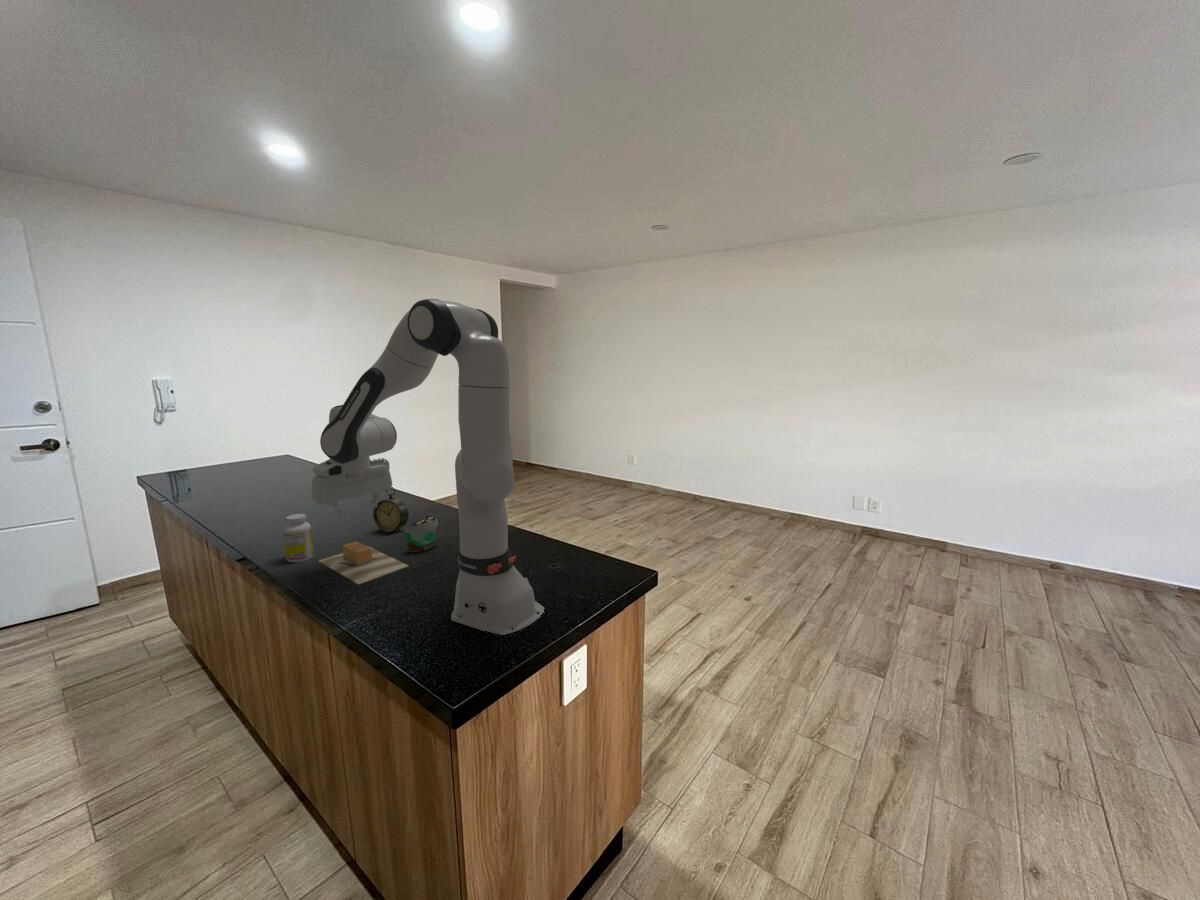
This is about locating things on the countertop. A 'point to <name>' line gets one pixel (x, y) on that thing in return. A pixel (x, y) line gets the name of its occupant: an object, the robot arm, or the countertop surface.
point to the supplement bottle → (298, 538)
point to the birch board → (364, 567)
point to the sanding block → (357, 553)
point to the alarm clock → (390, 514)
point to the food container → (421, 534)
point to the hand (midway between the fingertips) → (357, 511)
